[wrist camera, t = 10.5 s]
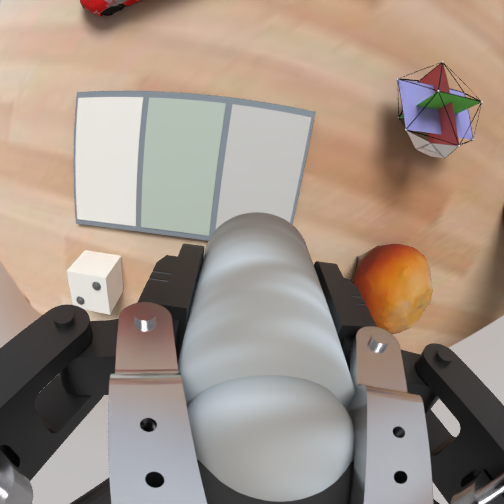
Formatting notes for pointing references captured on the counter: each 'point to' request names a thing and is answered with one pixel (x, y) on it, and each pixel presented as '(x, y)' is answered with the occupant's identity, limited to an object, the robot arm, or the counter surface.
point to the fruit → (394, 285)
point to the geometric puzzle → (435, 112)
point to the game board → (185, 160)
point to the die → (96, 281)
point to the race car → (105, 6)
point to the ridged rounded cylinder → (265, 365)
